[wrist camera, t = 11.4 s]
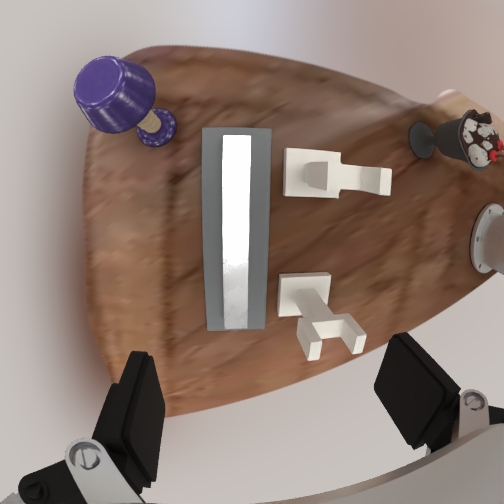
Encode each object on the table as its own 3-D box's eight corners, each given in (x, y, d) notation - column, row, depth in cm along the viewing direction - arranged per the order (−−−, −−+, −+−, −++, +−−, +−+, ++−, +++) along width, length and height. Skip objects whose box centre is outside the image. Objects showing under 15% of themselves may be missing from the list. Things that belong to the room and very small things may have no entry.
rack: (336, 152, 28) (396, 150, 17) (322, 308, 34) (361, 364, 23) (284, 148, 28) (323, 139, 17) (276, 311, 33) (302, 373, 22)
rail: (247, 138, 26) (250, 135, 24) (245, 316, 32) (247, 328, 30) (223, 138, 26) (223, 135, 24) (224, 317, 32) (224, 329, 30)
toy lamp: (152, 98, 24) (86, 35, 9) (190, 114, 25) (156, 53, 10) (131, 138, 25) (42, 115, 10) (168, 155, 26) (107, 142, 11)
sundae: (422, 175, 30) (511, 191, 16) (395, 134, 28) (489, 130, 14) (444, 146, 29) (528, 153, 15) (420, 107, 27) (507, 96, 13)
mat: (270, 129, 27) (271, 128, 26) (264, 326, 34) (264, 328, 33) (202, 128, 26) (202, 127, 25) (207, 328, 33) (207, 330, 32)
